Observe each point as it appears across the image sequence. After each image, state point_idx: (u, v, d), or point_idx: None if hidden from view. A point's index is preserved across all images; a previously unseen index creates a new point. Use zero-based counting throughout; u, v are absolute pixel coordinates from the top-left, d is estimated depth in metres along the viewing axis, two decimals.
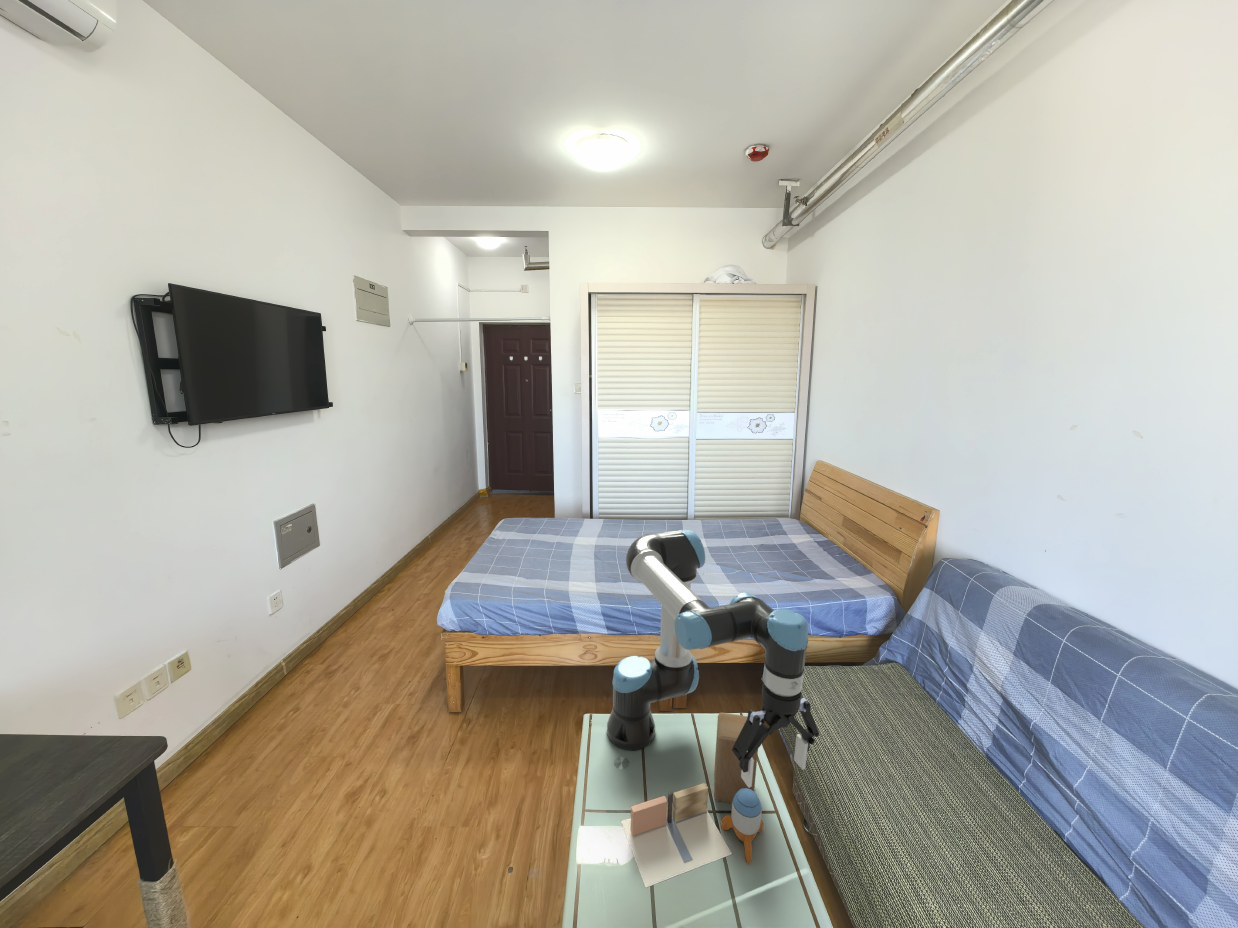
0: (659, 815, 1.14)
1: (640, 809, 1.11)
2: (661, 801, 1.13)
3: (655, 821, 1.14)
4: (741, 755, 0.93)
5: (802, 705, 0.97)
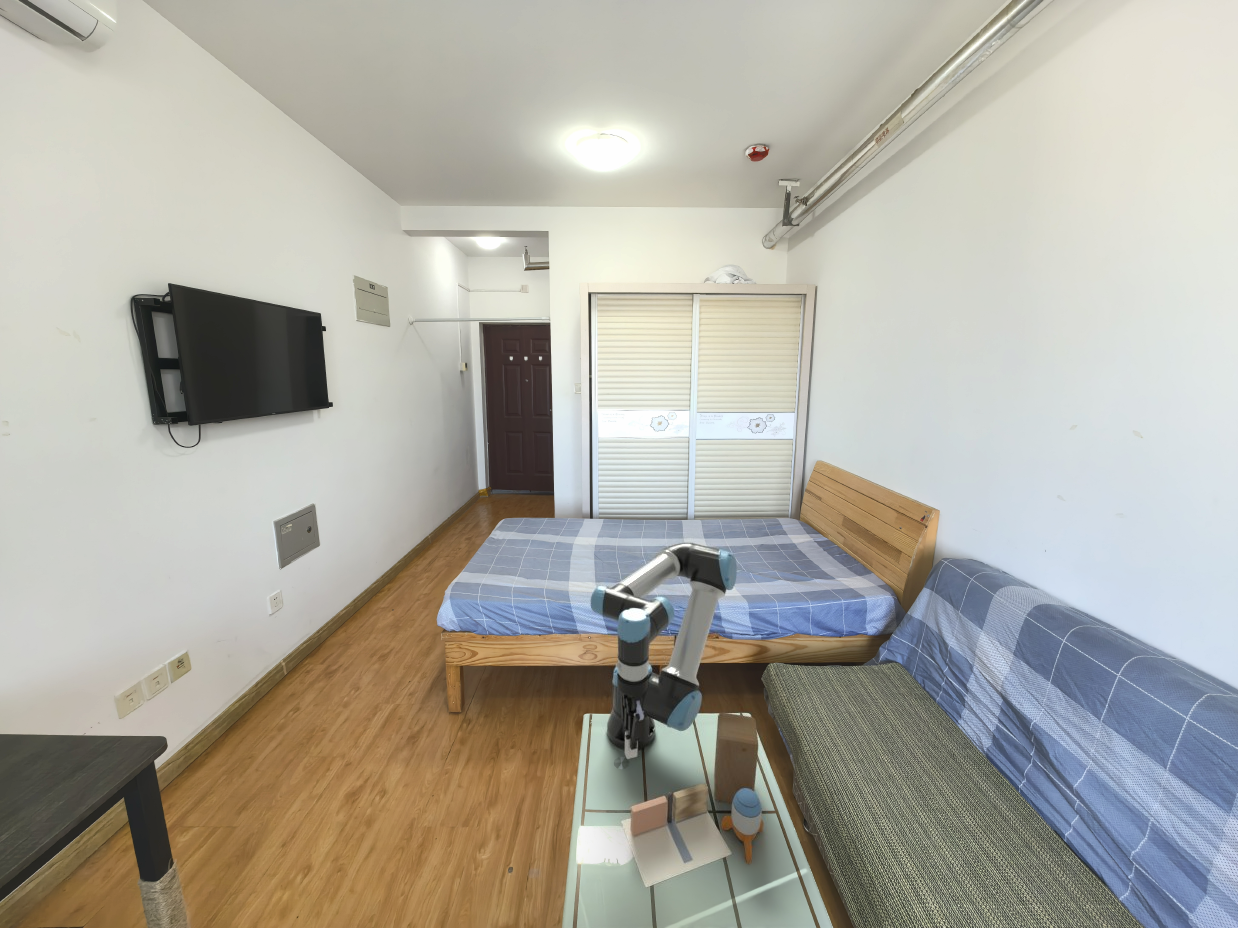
0: (659, 815, 1.14)
1: (640, 809, 1.11)
2: (661, 801, 1.13)
3: (655, 821, 1.14)
4: (622, 717, 1.18)
5: (637, 712, 1.09)
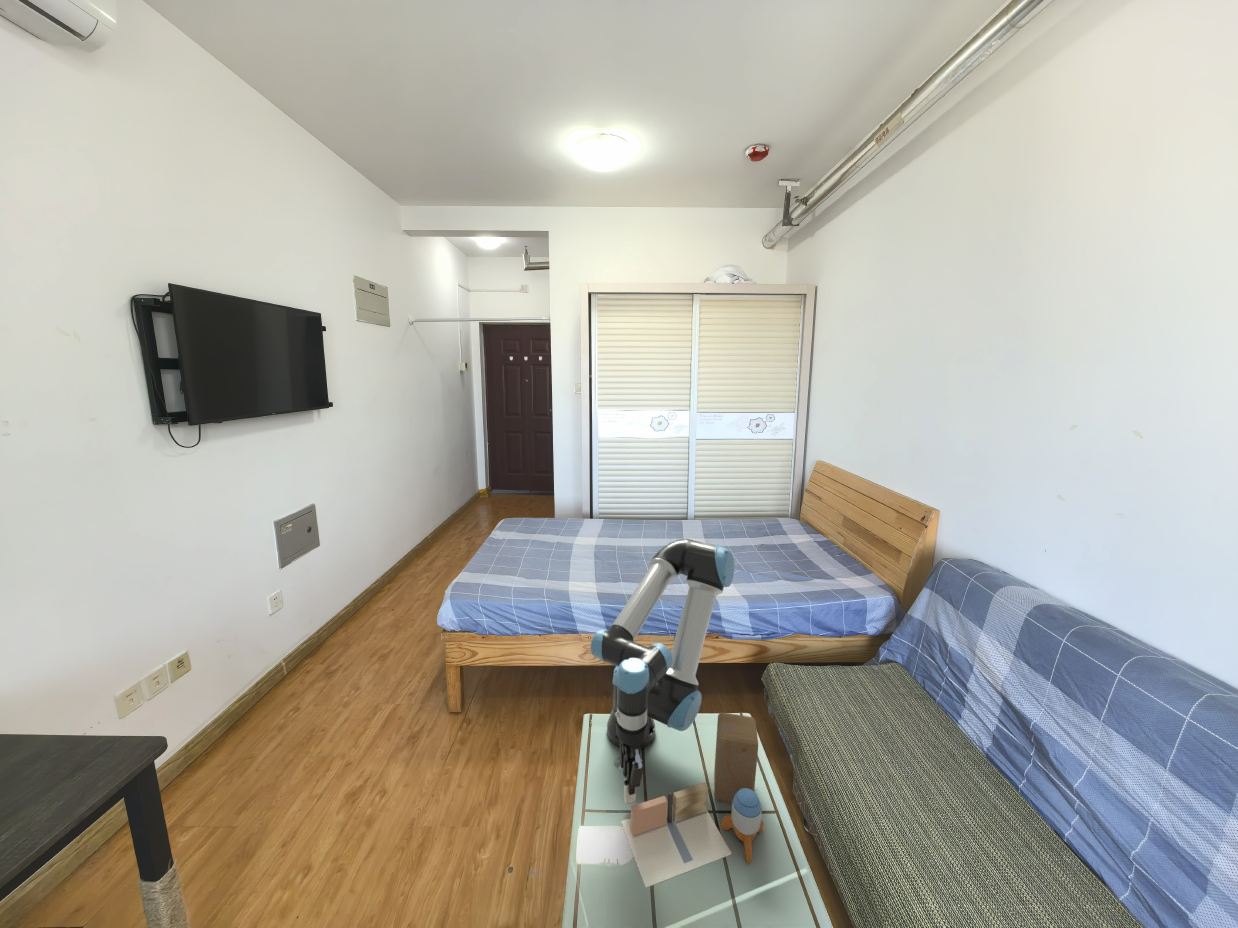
0: (659, 815, 1.14)
1: (640, 809, 1.11)
2: (661, 801, 1.13)
3: (655, 821, 1.14)
4: (621, 763, 1.20)
5: (636, 761, 1.11)
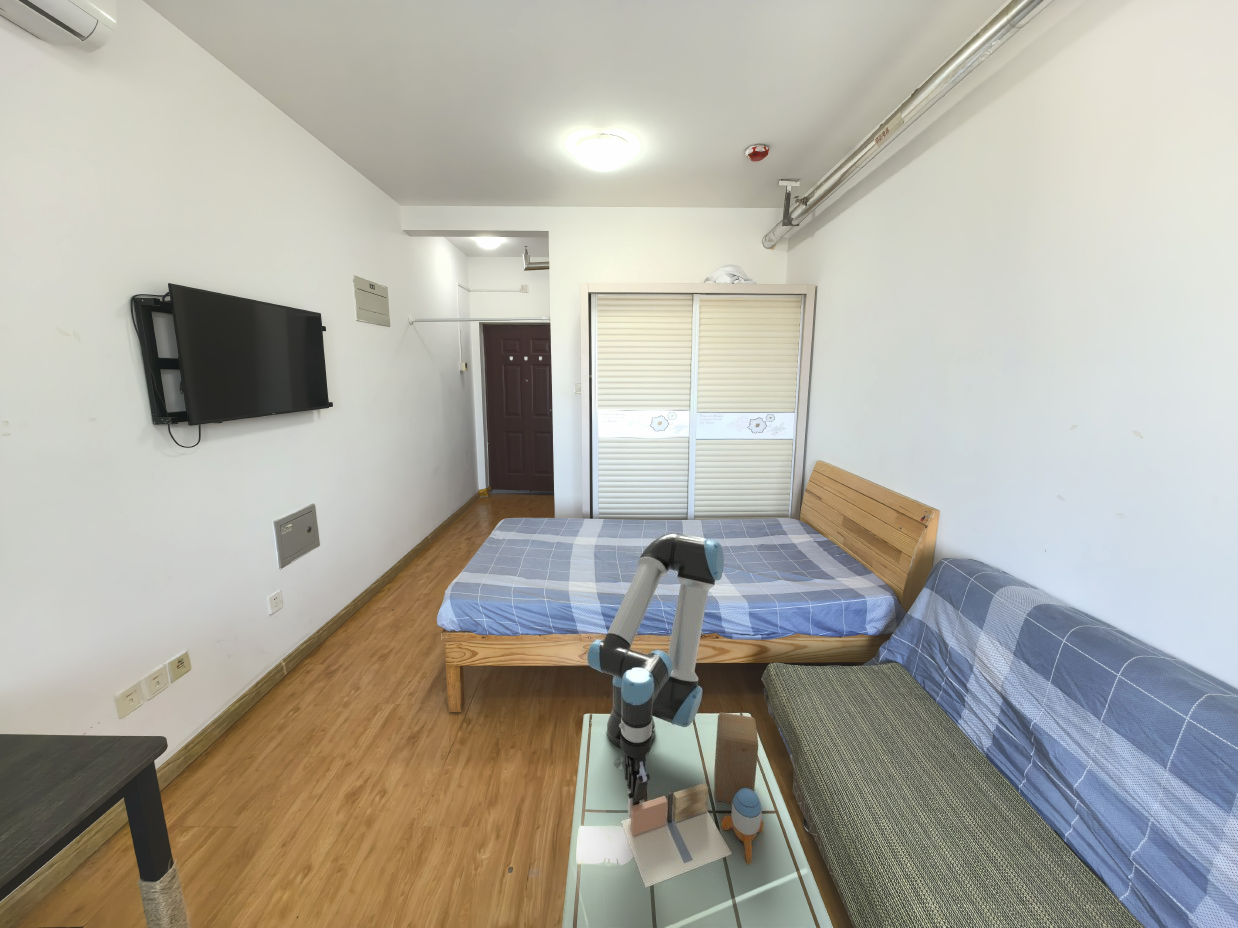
0: (659, 815, 1.14)
1: (640, 809, 1.11)
2: (661, 801, 1.13)
3: (655, 821, 1.14)
4: (625, 775, 1.17)
5: (640, 774, 1.08)
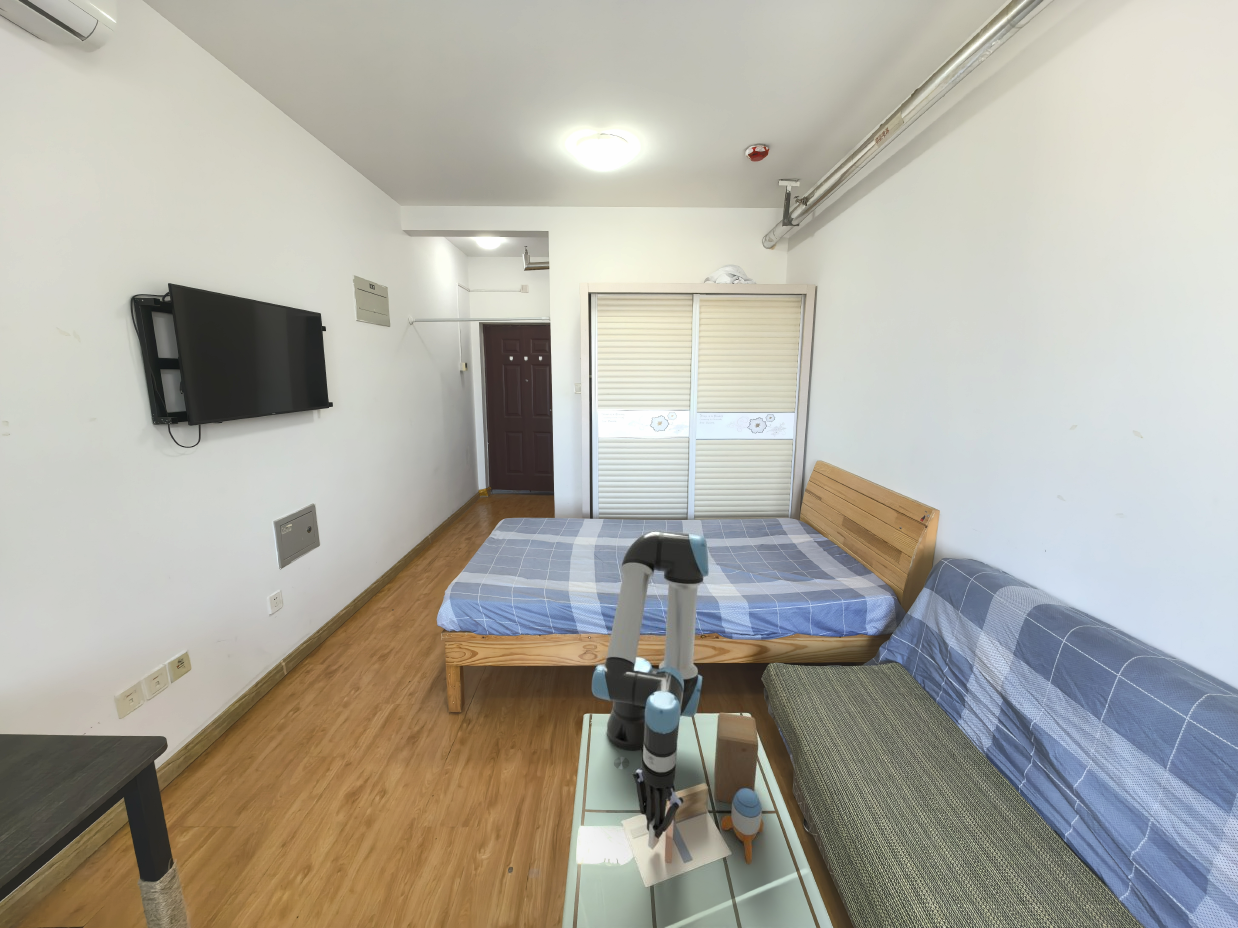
0: None
1: (672, 829, 1.07)
2: None
3: None
4: (641, 809, 1.08)
5: (674, 801, 1.02)
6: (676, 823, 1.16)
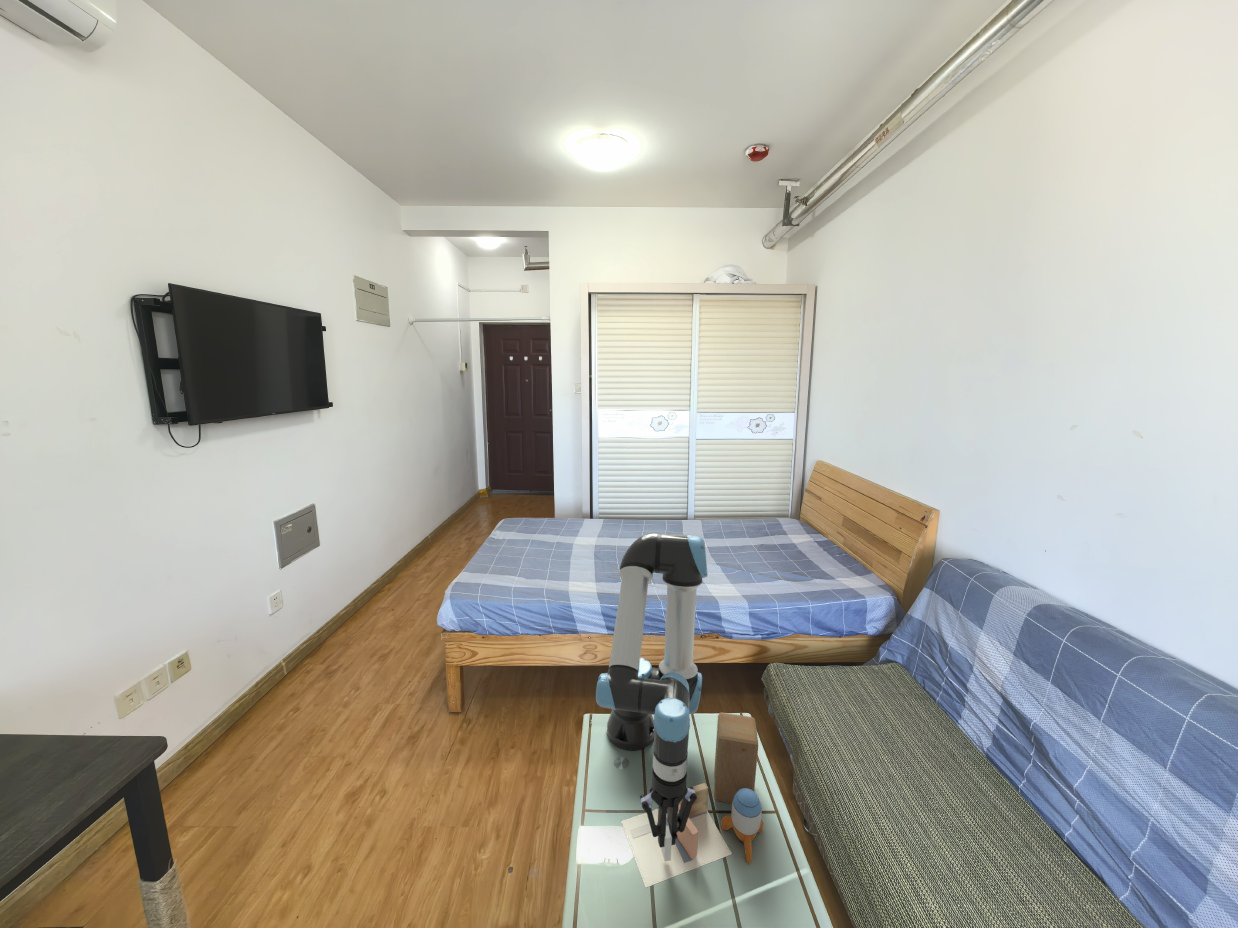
0: None
1: (692, 824, 1.08)
2: None
3: None
4: (654, 833, 1.03)
5: (689, 794, 1.04)
6: None
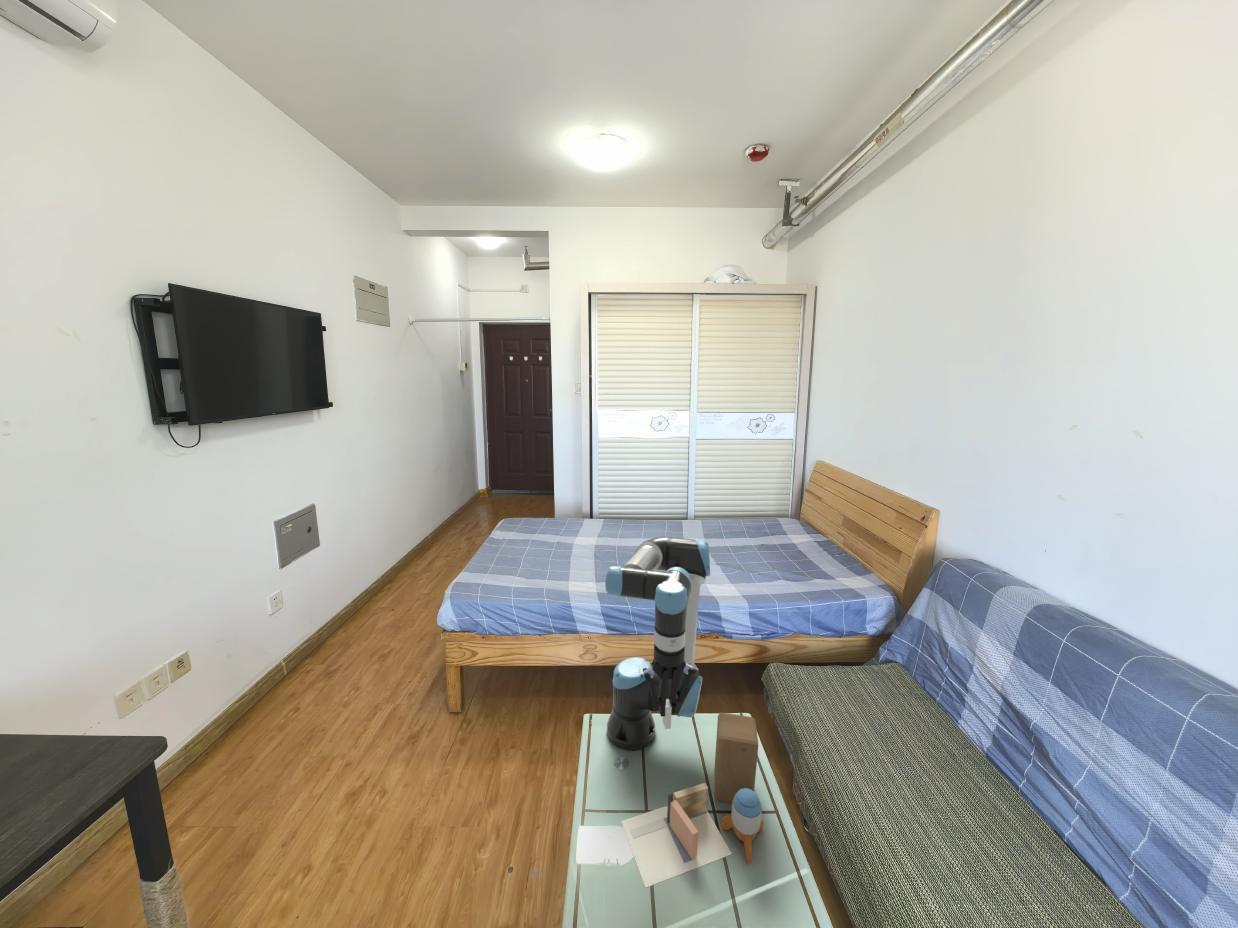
0: None
1: (692, 824, 1.08)
2: (677, 805, 1.13)
3: None
4: (655, 702, 1.15)
5: (688, 668, 1.15)
6: None
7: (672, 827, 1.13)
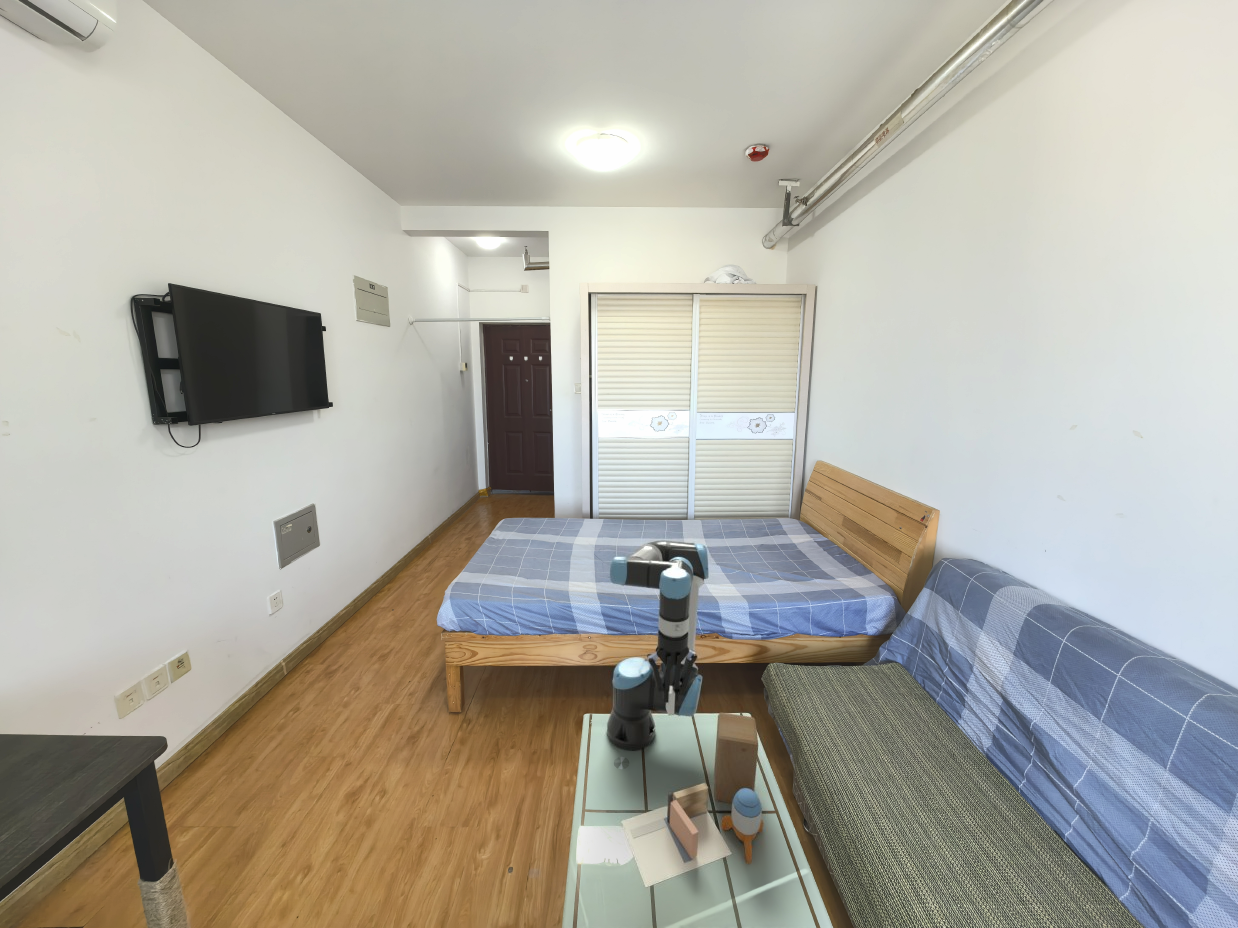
0: None
1: (692, 824, 1.08)
2: (677, 805, 1.13)
3: None
4: (659, 687, 1.17)
5: (691, 655, 1.18)
6: None
7: (672, 827, 1.13)
